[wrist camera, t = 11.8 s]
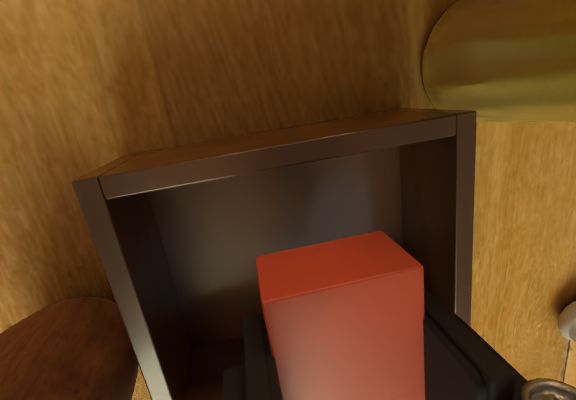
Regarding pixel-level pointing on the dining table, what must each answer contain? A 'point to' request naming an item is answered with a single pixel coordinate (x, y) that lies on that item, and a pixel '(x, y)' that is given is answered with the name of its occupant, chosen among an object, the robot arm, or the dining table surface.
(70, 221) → the dining table surface
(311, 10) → the dining table surface
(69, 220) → the dining table surface
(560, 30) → the vase
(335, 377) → the red rectangular prism
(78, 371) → the wooden figurine
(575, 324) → the spoon
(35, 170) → the dining table surface
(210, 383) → the holder
